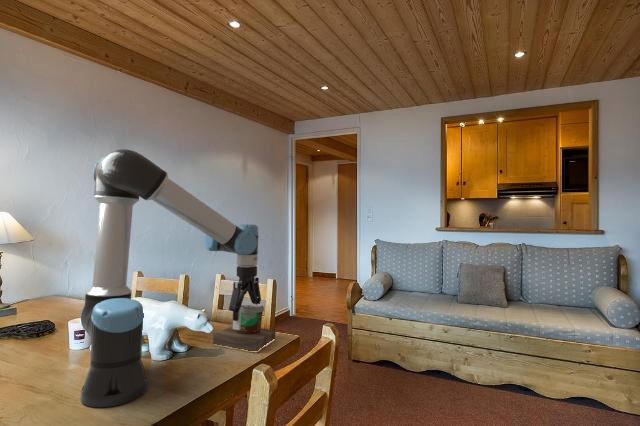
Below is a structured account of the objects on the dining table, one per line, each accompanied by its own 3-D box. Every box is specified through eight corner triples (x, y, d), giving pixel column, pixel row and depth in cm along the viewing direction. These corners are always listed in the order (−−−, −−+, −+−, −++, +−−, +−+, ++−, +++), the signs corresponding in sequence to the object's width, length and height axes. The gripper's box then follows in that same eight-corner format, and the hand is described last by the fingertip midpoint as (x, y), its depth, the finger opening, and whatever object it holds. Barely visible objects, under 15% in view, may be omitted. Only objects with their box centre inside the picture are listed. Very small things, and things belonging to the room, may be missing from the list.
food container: (225, 333, 132) (226, 305, 132) (234, 328, 138) (235, 302, 138) (256, 337, 128) (256, 309, 128) (263, 332, 134) (264, 305, 134)
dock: (256, 353, 123) (256, 341, 123) (212, 345, 130) (213, 334, 130) (275, 340, 136) (275, 330, 136) (234, 334, 143) (235, 324, 143)
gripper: (238, 270, 121) (236, 335, 121) (270, 263, 143) (269, 318, 143) (219, 268, 124) (217, 332, 123) (254, 261, 146) (253, 316, 145)
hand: (245, 324), depth 133 cm, fingers open, 11 cm apart
